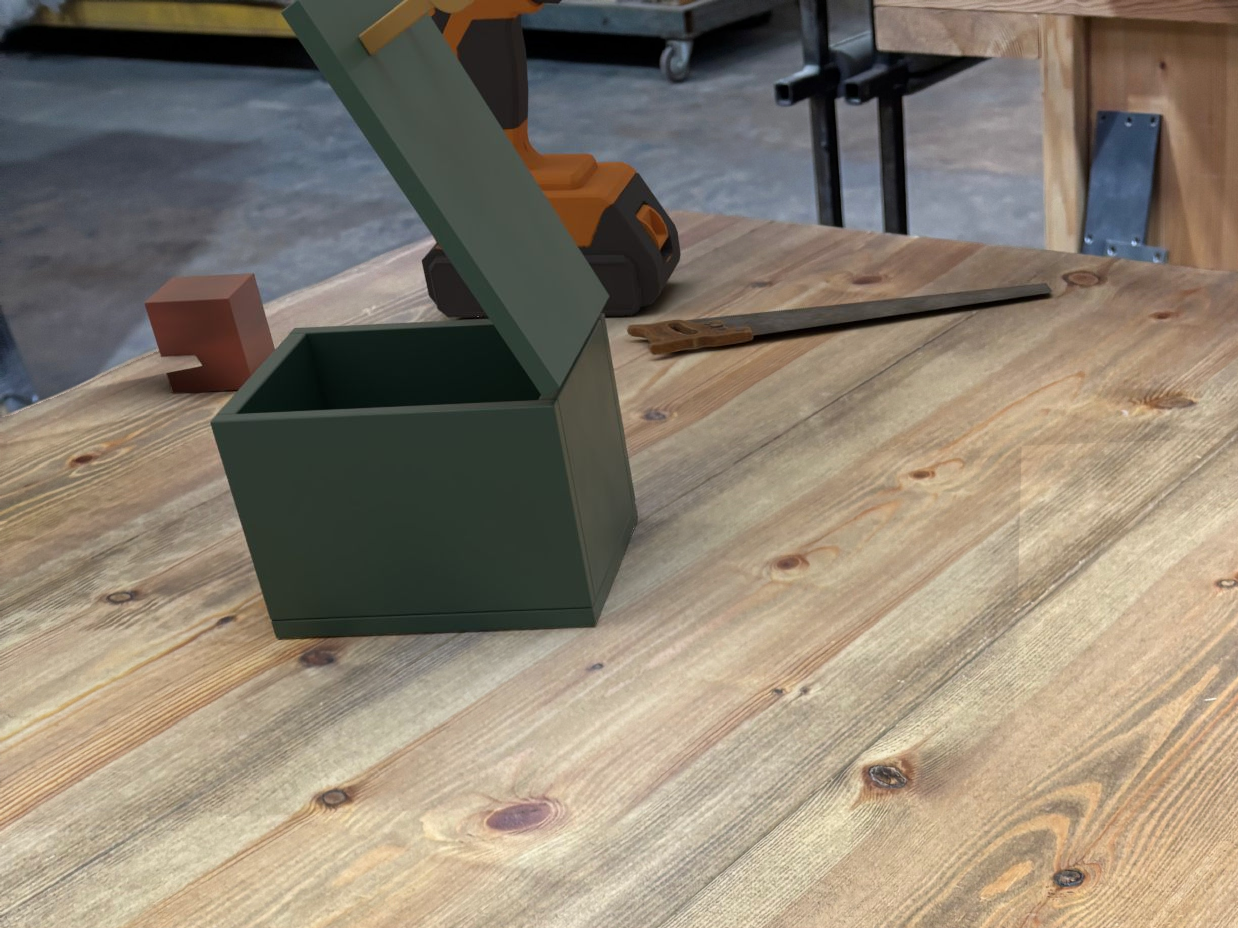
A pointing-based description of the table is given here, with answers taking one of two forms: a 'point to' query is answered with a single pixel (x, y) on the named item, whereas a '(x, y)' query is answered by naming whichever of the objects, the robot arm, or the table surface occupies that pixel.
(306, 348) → the chest
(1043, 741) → the table surface
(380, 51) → the lid
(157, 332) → the block
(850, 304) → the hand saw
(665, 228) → the power drill
